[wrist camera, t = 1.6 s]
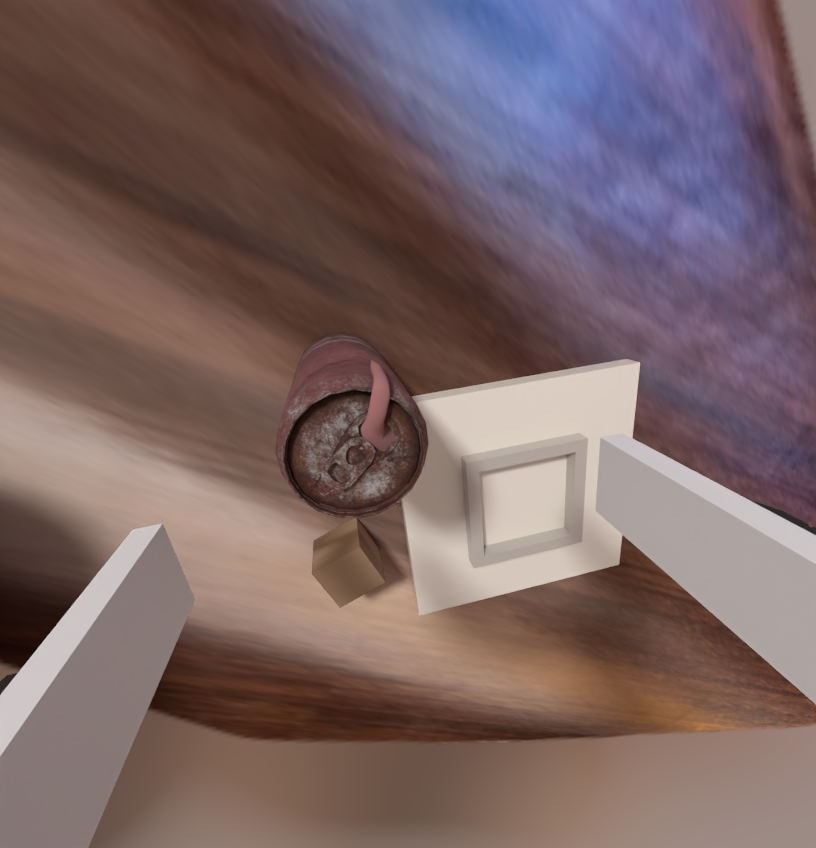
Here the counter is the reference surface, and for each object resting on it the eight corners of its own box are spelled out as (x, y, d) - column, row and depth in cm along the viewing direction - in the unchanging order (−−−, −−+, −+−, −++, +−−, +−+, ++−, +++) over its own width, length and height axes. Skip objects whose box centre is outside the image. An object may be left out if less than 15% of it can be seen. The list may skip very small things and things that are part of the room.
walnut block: (339, 571, 33) (340, 607, 30) (313, 539, 32) (311, 573, 28) (379, 549, 33) (385, 582, 30) (356, 516, 32) (359, 547, 28)
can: (391, 335, 27) (451, 385, 14) (377, 420, 29) (417, 530, 16) (303, 320, 26) (281, 360, 13) (293, 410, 28) (266, 523, 15)
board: (415, 602, 36) (422, 626, 34) (385, 400, 29) (391, 412, 26) (608, 554, 39) (627, 573, 36) (626, 358, 32) (652, 365, 29)
